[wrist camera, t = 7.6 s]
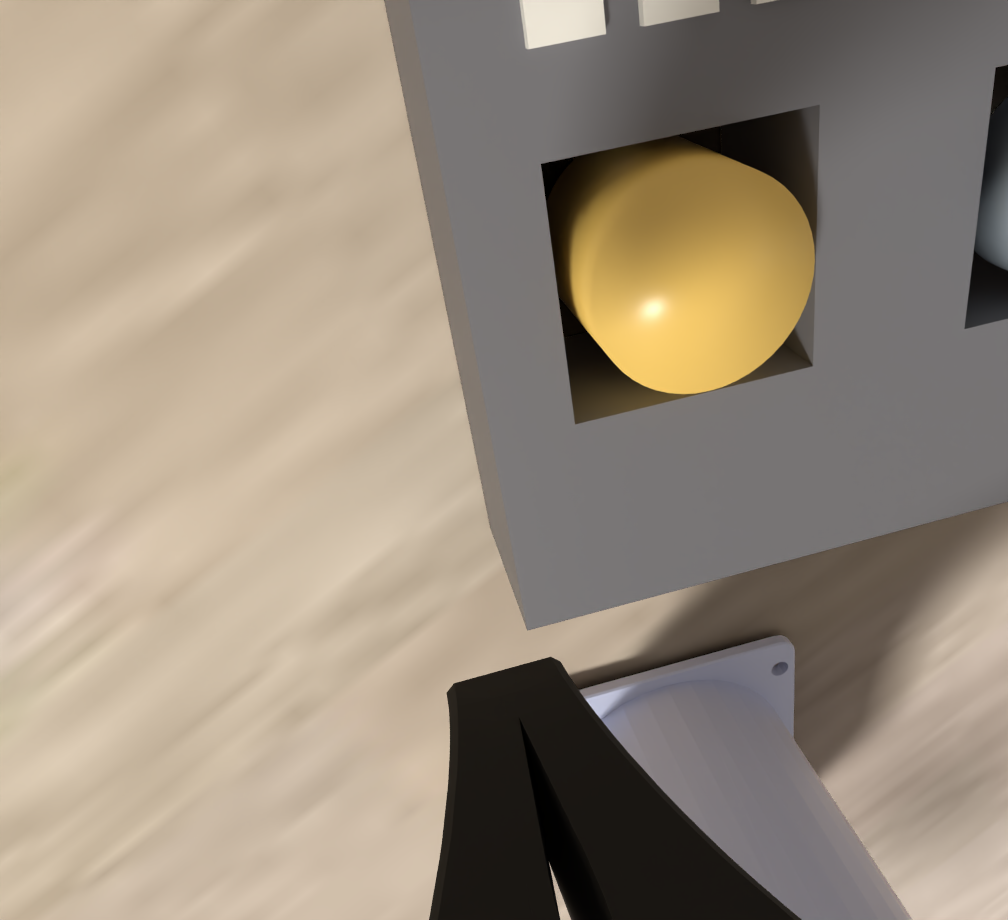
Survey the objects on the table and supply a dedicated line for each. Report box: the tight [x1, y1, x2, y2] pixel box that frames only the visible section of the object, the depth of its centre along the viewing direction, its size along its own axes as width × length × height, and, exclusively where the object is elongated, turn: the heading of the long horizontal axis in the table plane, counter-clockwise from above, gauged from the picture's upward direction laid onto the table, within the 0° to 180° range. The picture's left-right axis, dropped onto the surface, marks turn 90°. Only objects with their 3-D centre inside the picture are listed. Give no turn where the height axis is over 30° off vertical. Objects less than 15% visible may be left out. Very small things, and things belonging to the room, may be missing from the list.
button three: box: [546, 135, 815, 394], centre depth 17 cm, size 4×4×4 cm
